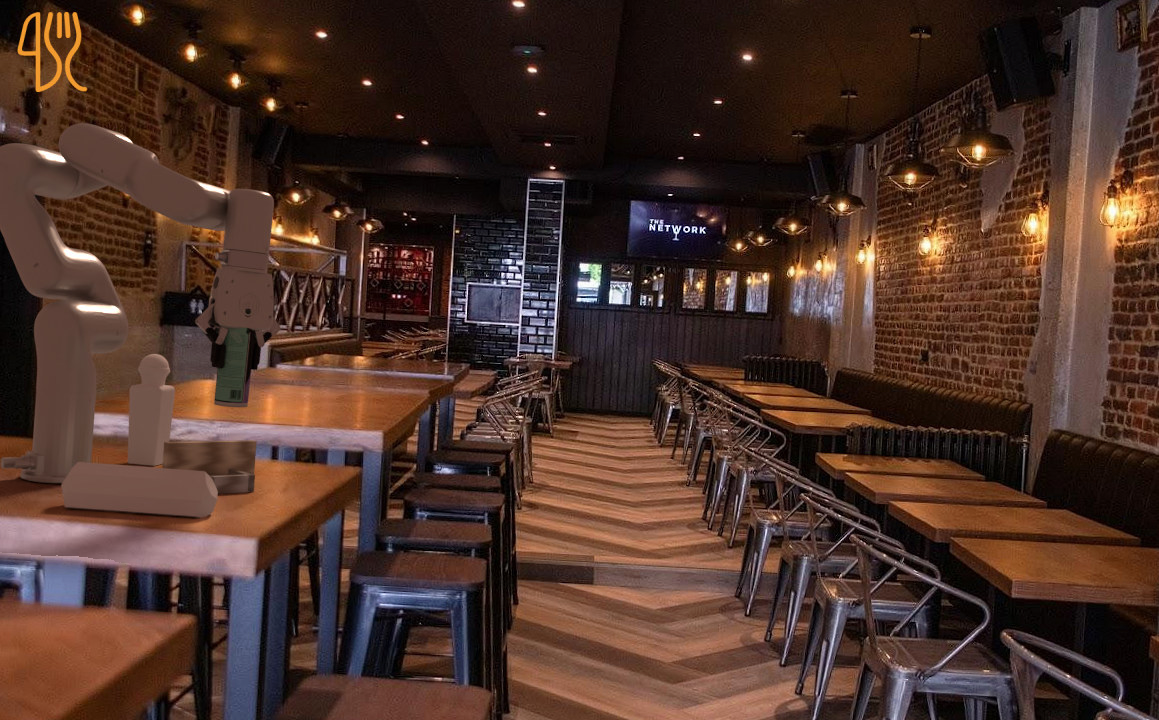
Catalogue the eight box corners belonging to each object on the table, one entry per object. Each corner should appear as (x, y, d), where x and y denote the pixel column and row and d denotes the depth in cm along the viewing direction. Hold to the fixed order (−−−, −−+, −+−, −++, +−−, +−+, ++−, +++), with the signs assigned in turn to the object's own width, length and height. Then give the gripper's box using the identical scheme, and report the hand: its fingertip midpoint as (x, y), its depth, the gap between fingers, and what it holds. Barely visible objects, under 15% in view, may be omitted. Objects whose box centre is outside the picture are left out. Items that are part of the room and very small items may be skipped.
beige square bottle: (139, 459, 212) (147, 352, 212) (170, 462, 212) (178, 355, 211) (123, 463, 206) (131, 352, 205) (155, 466, 205) (163, 355, 205)
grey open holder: (184, 495, 178) (187, 449, 178) (160, 486, 185) (164, 442, 185) (274, 490, 190) (277, 447, 190) (249, 482, 197) (252, 440, 197)
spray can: (254, 406, 180) (266, 291, 179) (231, 407, 175) (243, 289, 174) (230, 402, 182) (241, 288, 181) (207, 403, 177) (218, 286, 176)
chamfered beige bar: (45, 486, 157) (206, 498, 159) (65, 457, 164) (220, 469, 165) (54, 524, 161) (211, 535, 163) (73, 494, 167) (224, 505, 169)
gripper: (207, 257, 169) (196, 368, 169) (301, 269, 181) (290, 373, 182) (186, 255, 174) (176, 363, 175) (279, 267, 186) (269, 368, 187)
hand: (234, 367), depth 178 cm, fingers closed on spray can, 5 cm apart
